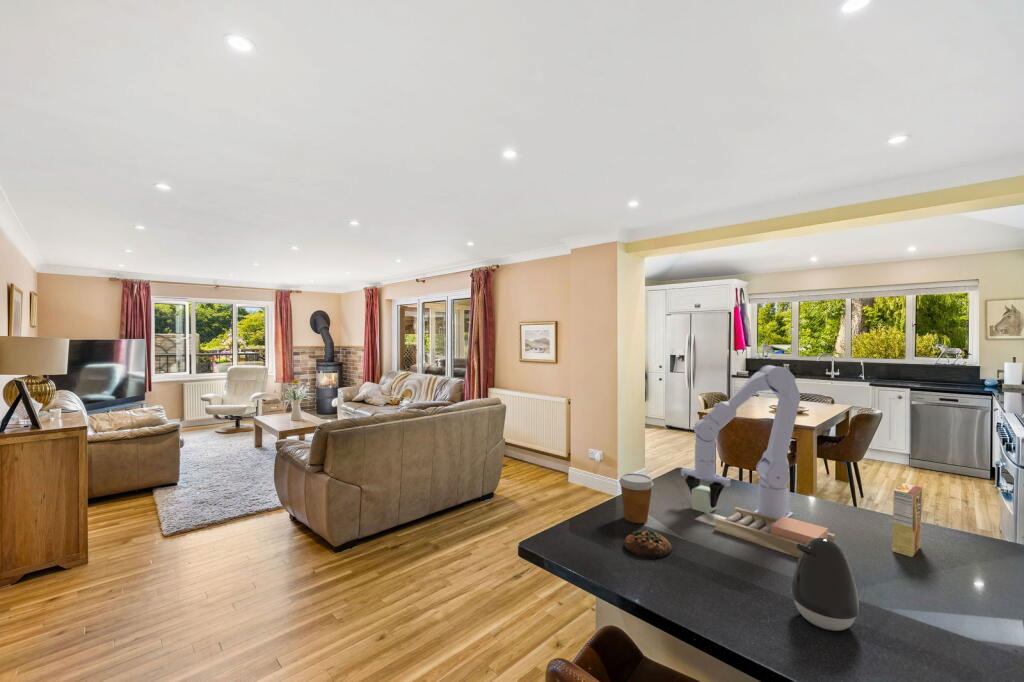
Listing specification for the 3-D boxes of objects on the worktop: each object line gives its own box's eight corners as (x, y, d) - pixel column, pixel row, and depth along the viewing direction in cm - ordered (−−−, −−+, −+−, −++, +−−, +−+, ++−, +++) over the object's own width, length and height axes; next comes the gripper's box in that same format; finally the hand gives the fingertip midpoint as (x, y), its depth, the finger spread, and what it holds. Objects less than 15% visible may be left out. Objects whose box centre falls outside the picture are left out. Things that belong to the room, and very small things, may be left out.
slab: (783, 525, 120) (783, 516, 120) (827, 538, 112) (828, 528, 112) (770, 535, 114) (770, 525, 114) (816, 549, 106) (816, 538, 106)
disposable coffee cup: (653, 515, 132) (654, 474, 132) (652, 528, 123) (653, 484, 123) (620, 511, 135) (620, 471, 135) (616, 523, 126) (617, 480, 126)
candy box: (899, 541, 116) (900, 482, 116) (921, 547, 113) (922, 486, 113) (891, 551, 111) (892, 489, 111) (914, 558, 108) (915, 494, 107)
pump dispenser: (777, 606, 87) (778, 527, 87) (827, 604, 88) (829, 526, 88) (817, 641, 77) (818, 552, 77) (873, 638, 78) (875, 551, 78)
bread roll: (637, 561, 105) (636, 538, 105) (616, 546, 115) (616, 525, 116) (680, 558, 107) (679, 536, 108) (656, 544, 118) (656, 524, 118)
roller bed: (711, 510, 136) (712, 500, 136) (834, 547, 113) (835, 534, 113) (690, 522, 127) (690, 510, 127) (818, 564, 104) (819, 550, 104)
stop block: (701, 504, 141) (700, 485, 141) (717, 508, 137) (716, 488, 137) (691, 508, 137) (691, 489, 137) (707, 513, 133) (707, 492, 133)
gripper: (676, 456, 140) (675, 500, 140) (723, 467, 129) (722, 514, 129) (687, 453, 145) (686, 495, 145) (733, 462, 134) (733, 508, 134)
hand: (704, 504), depth 137 cm, fingers closed on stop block, 5 cm apart
